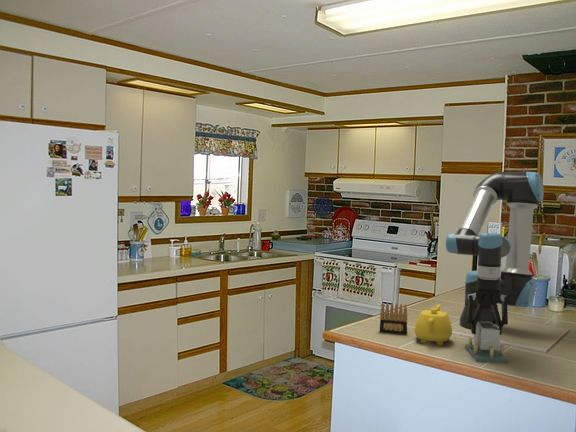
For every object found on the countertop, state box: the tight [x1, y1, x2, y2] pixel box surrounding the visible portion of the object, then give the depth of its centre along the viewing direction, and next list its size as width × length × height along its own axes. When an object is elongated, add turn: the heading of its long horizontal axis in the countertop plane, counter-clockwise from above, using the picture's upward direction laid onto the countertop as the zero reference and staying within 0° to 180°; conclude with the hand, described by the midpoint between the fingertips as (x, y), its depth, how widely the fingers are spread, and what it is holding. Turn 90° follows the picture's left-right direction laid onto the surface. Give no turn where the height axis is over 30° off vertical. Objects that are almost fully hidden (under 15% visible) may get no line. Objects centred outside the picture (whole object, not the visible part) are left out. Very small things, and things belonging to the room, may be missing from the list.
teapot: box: [414, 303, 453, 346], centre depth 203 cm, size 13×20×12 cm
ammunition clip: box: [379, 301, 408, 336], centre depth 212 cm, size 11×2×12 cm, turn 74°
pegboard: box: [464, 337, 509, 364], centre depth 187 cm, size 15×10×5 cm
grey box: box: [477, 321, 501, 351], centre depth 187 cm, size 11×6×7 cm, turn 173°
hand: (485, 343), depth 187 cm, fingers closed on grey box, 6 cm apart
